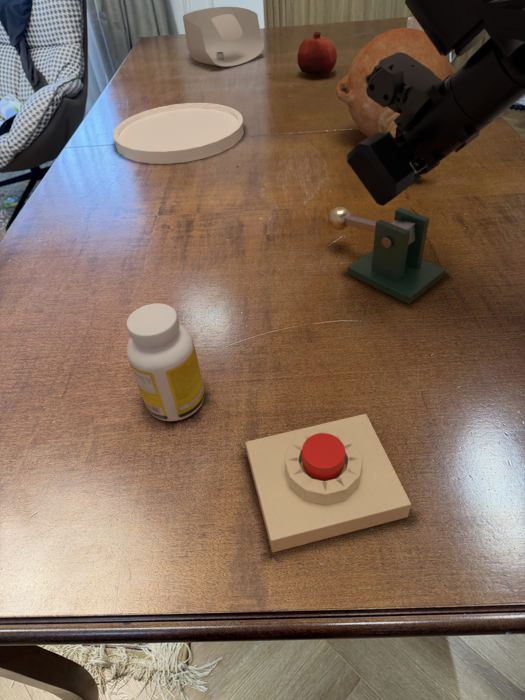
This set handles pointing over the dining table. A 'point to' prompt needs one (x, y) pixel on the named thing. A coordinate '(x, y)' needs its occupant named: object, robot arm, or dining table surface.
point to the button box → (324, 485)
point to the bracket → (398, 260)
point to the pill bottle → (164, 362)
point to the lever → (363, 222)
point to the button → (323, 456)
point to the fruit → (317, 55)
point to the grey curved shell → (223, 35)
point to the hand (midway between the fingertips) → (369, 186)
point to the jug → (354, 83)
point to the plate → (178, 133)
